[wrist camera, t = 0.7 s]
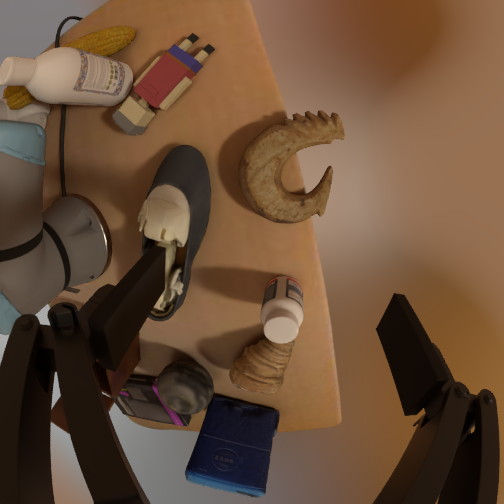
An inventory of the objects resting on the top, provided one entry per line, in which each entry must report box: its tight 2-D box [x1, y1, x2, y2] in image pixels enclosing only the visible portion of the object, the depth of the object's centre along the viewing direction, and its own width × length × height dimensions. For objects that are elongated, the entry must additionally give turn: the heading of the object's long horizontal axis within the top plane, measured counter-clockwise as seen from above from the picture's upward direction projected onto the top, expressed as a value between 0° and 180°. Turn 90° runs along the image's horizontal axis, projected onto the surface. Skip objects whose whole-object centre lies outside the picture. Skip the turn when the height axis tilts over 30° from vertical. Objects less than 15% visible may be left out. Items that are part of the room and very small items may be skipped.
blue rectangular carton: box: [185, 396, 280, 498], centre depth 41 cm, size 14×5×20 cm, turn 77°
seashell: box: [229, 338, 294, 394], centre depth 40 cm, size 14×8×8 cm
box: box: [110, 374, 191, 427], centre depth 53 cm, size 14×4×20 cm
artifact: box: [238, 111, 345, 223], centre depth 31 cm, size 12×3×15 cm
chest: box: [93, 332, 141, 398], centre depth 42 cm, size 10×9×11 cm
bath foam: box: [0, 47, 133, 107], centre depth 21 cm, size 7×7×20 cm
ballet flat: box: [138, 145, 211, 321], centre depth 33 cm, size 8×24×8 cm, turn 165°
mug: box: [0, 99, 51, 129], centre depth 28 cm, size 13×9×10 cm
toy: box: [112, 33, 215, 135], centre depth 28 cm, size 6×4×15 cm
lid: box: [51, 394, 115, 434], centre depth 34 cm, size 11×9×1 cm
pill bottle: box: [261, 276, 304, 344], centre depth 34 cm, size 5×5×9 cm
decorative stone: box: [157, 360, 214, 414], centre depth 43 cm, size 10×10×10 cm
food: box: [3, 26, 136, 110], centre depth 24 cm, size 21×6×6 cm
